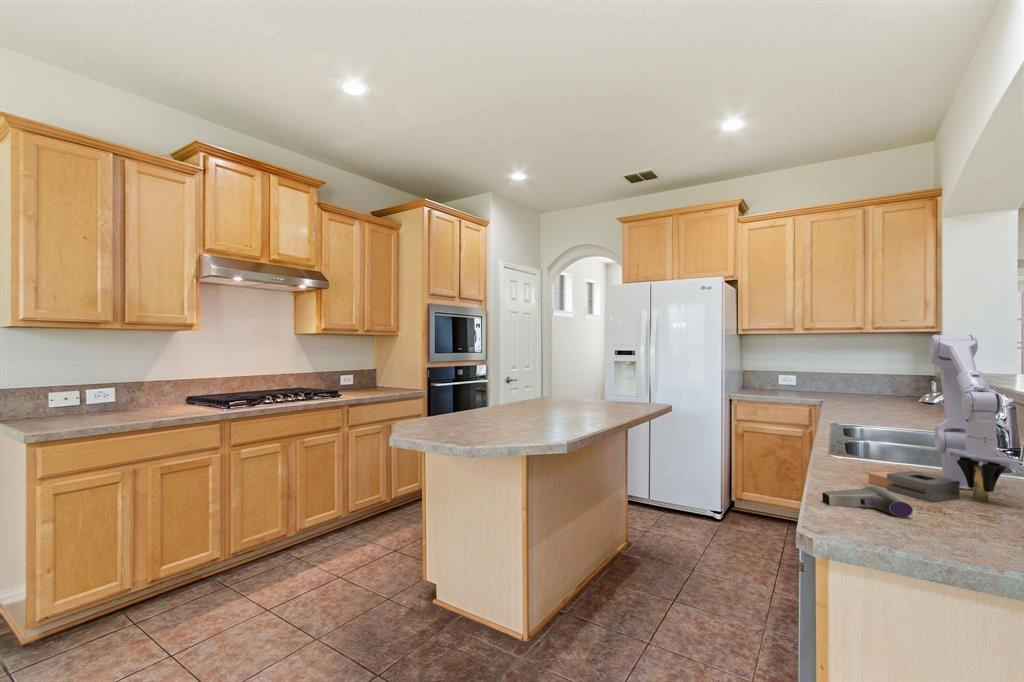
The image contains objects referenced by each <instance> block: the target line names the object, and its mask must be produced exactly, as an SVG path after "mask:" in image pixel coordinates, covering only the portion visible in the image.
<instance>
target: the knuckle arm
mask: <svg viewBox="0 0 1024 682" xmlns="http://www.w3.org/2000/svg"><path fill="white" fill-rule="evenodd" d="M890 473H891V472H890V471H877V472H868V484H871V485H874V486H877V487H881V486H882V487H881V488H884V489H885V488H886V489H887V485H888V484H895V485H899V486H903V487H907V488H911V489H915V490H918V491H922V492H925V489H924V488H920V487H916V486H912V485H908V484H904V483H900V482H896V481H892V480H888V479H887V474H890Z"/></svg>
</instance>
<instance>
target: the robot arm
mask: <svg viewBox="0 0 1024 682" xmlns="http://www.w3.org/2000/svg"><path fill="white" fill-rule="evenodd" d="M978 346H979V343H978V338H977V337H976V336H975V335H974V334H968V335H966V334H963V335H961V334H960V335H959V334H955V335H954V334H953V335H952V334H948V335H947V334H945V335H943V334H941V335H939V334H933V335H932V336H931V337H930V338H929V346H928V349H929V357H930V361H931V364H932V365H935V366H937V367H938V370H939V374H940V381H941V390H942V399H943V409H944V414H945V415H944V417H945V420H943V421H942V422H940V423H938V424H937V425H936V426H935V428H934V437H933V438H934V447H935V449H936V450H937V451H938V452H940V453H941V477H943V478H948V479H952V480H957V481H960V489H963V490H973V465H982V468H983V472H984V478H985V491H986V492H989V493H992V492H994V490H995V486H996V484H997V482H998V479H999V478H1000V476H1001V474H1002V473H1003V472H1004V471H1005V470H1006V468H1007V467H1008V468H1010V469H1019V468H1020V459H1019V460H1018V459H1013V458H1011V457H1010V458H1009V457H1005V456H1000V455H997V415H998V414H999V413H1000V412H1001V408H1002V401H1001V396H1000V394H999V393H998V392H997V391H996V390H994V388H992V389H991V388H990V385H989V383H988V380H987V378H986V376H985V374H984V372H981V370H980V371H979V370H977V367H976V364H975V359H974V358H975V356H976V354H977V352H978V348H979V347H978Z"/></svg>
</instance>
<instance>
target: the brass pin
mask: <svg viewBox="0 0 1024 682" xmlns="http://www.w3.org/2000/svg"><path fill="white" fill-rule="evenodd" d="M989 494H990V492H986V491H985V478H984V472H983V468H982V465H973V489H972V500H973V501H975V502H979V503H989V502H990V501H989V499H990V498H989V497H990V495H989Z"/></svg>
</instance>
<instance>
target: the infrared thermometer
mask: <svg viewBox="0 0 1024 682" xmlns="http://www.w3.org/2000/svg"><path fill="white" fill-rule="evenodd" d="M821 494H822V502H823V503H825V504H826V505H827V506H832V507H835V506H836V507H847V508H869V509H870V508H871V509H878V510H880V511H883V512H885V513H888V514H891V515H893V516H894V517H898V518H907V517H909V516H911V515H912V514H913V513H914V509H913V507H912V505H911V504H910V503H908V502H906V501H905V500H904V499H902V498H901V497H900V496H898V495H897V494H895V493H894V492H893V491H889V490H887V489H885V488H884V487H881V486H878V485H874V486H873V485H872V486H867V487H863V488H858V489H846V490H845V489H844V490H830V491H829V490H828V491H823V492H822V493H821Z"/></svg>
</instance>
